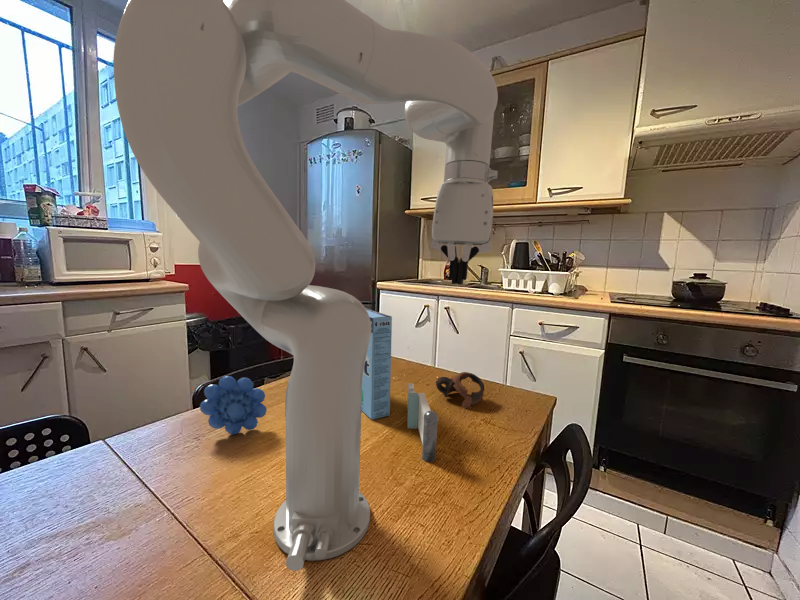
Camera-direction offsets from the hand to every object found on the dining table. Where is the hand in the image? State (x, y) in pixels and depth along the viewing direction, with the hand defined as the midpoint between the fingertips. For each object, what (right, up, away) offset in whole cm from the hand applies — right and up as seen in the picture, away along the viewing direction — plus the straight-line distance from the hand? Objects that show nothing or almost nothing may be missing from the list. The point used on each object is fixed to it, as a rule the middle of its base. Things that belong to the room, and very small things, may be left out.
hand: (457, 283), depth 61 cm
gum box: (-20, -28, +23) cm, 41 cm away
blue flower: (-42, -30, +5) cm, 52 cm away
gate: (-6, -30, +8) cm, 32 cm away
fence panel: (-8, -29, +17) cm, 35 cm away
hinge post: (-5, -31, +1) cm, 32 cm away
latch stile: (-8, -30, +12) cm, 33 cm away
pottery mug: (+5, -29, +26) cm, 39 cm away
